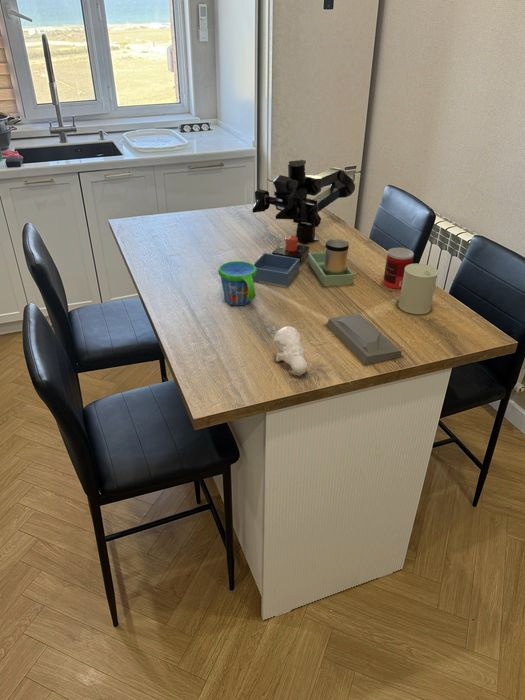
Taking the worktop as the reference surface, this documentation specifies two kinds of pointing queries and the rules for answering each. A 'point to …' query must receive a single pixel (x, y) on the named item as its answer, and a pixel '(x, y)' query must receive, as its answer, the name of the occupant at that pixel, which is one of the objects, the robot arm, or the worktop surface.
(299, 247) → the black square plate
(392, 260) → the canned food
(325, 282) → the tray
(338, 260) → the travel mug
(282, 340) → the white animal figurine
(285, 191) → the robot arm
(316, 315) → the worktop surface
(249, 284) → the snack cup
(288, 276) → the basin
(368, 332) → the soap mold
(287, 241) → the tap knob
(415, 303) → the can
